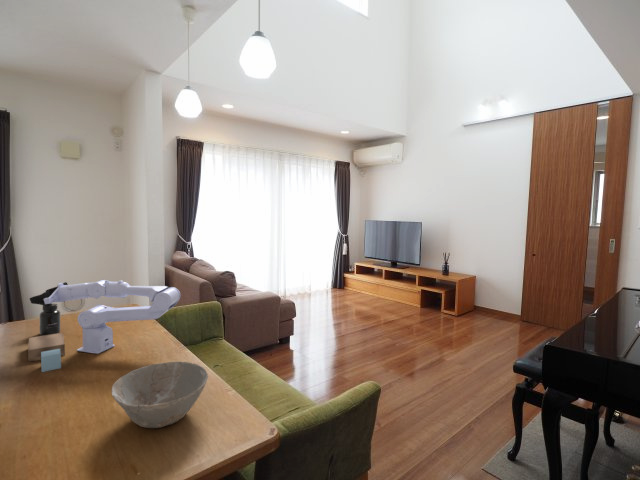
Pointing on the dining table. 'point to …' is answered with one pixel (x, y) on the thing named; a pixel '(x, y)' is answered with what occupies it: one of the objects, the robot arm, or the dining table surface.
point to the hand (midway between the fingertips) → (39, 296)
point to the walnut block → (45, 345)
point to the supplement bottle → (50, 320)
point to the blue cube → (50, 360)
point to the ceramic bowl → (159, 392)
